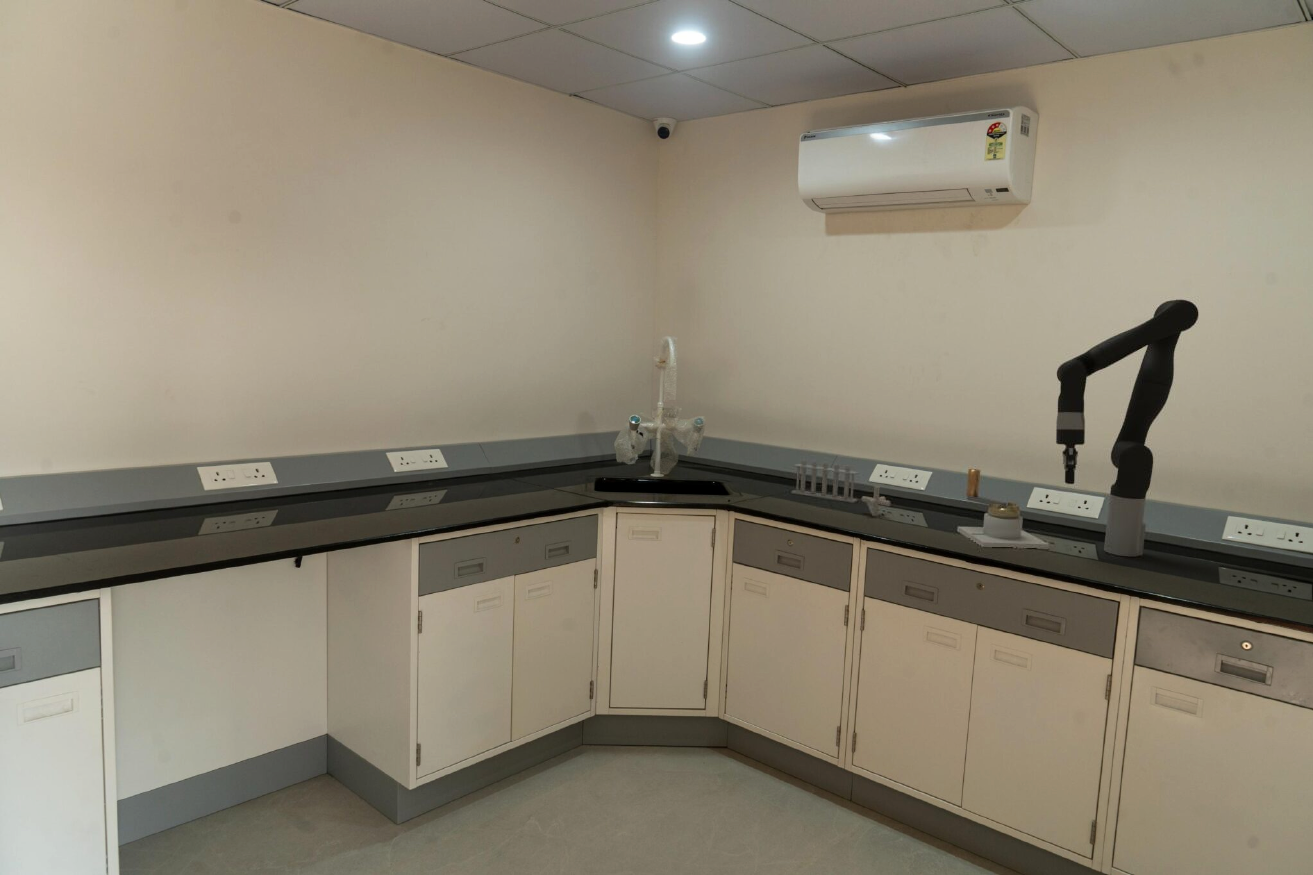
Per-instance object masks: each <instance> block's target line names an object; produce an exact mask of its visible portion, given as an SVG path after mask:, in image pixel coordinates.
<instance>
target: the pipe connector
mask: <svg viewBox="0 0 1313 875" xmlns="http://www.w3.org/2000/svg"><path fill="white" fill-rule="evenodd" d="M880 489H881V486H876V485H874V488H873V497H870V496H861V502H863V503H866V505H867V506H872V513H871V514H872V516H873V517H878V515H879V505H881V506H887V507H890V505H891V501H890V500H886V497H885V496H880Z"/></svg>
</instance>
